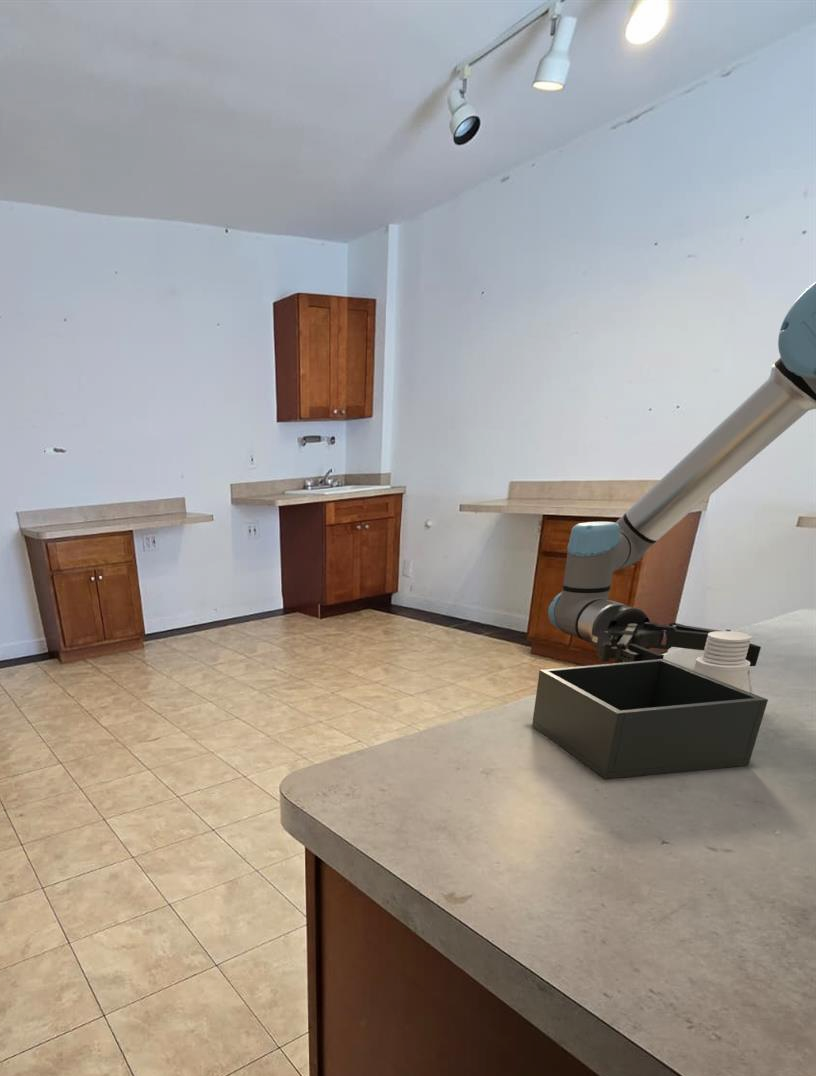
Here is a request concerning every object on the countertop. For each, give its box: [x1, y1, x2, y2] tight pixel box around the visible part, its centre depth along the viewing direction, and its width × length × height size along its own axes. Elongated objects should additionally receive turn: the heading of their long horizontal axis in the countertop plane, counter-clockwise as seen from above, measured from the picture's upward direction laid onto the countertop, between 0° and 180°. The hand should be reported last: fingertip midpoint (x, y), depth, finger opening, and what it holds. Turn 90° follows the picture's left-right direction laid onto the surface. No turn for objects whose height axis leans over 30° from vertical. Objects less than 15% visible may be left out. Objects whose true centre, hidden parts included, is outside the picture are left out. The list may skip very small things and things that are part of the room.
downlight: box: [693, 630, 753, 694], centre depth 85 cm, size 8×7×10 cm
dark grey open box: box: [531, 658, 769, 780], centre depth 77 cm, size 17×17×8 cm
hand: (707, 660), depth 87 cm, fingers open, 13 cm apart
